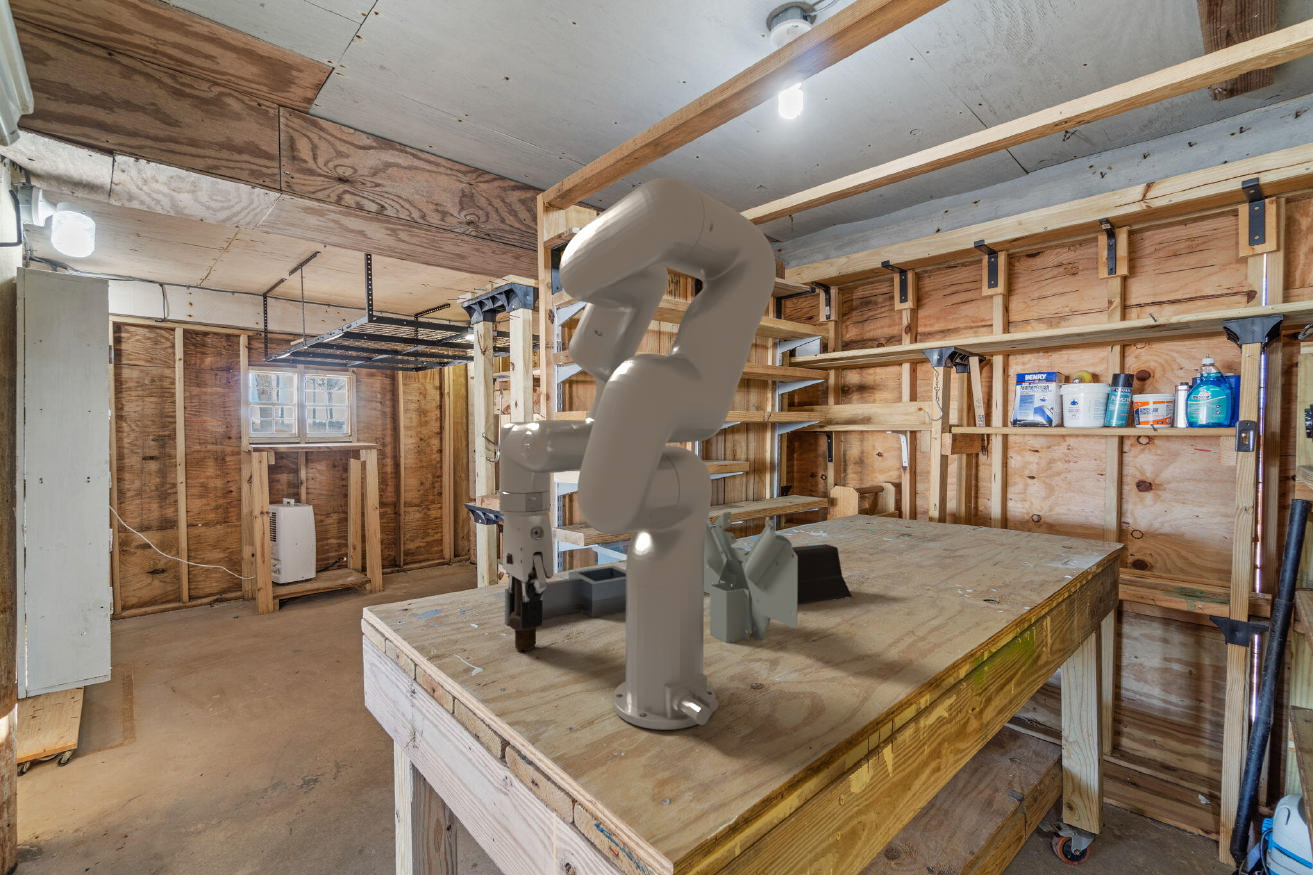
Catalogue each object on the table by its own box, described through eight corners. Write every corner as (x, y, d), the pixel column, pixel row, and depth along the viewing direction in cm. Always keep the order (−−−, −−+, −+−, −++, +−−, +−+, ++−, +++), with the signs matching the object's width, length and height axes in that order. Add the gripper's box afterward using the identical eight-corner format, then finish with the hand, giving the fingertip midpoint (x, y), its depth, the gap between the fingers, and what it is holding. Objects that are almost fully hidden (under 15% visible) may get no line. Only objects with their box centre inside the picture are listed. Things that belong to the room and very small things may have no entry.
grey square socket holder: (698, 595, 113) (698, 566, 113) (516, 633, 92) (516, 597, 92) (670, 584, 122) (670, 556, 121) (496, 616, 101) (496, 583, 100)
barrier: (752, 612, 104) (752, 558, 104) (728, 599, 112) (729, 549, 112) (853, 598, 113) (853, 549, 113) (824, 587, 121) (825, 541, 121)
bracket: (814, 658, 82) (815, 523, 82) (780, 669, 79) (780, 527, 78) (701, 607, 106) (701, 502, 105) (670, 614, 102) (670, 504, 101)
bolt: (499, 650, 85) (499, 552, 85) (522, 639, 89) (521, 546, 89) (529, 658, 82) (529, 556, 82) (550, 646, 87) (550, 550, 86)
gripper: (571, 507, 81) (571, 633, 81) (528, 495, 95) (528, 603, 95) (521, 511, 76) (521, 644, 77) (484, 498, 90) (484, 611, 91)
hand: (525, 620), depth 86 cm, fingers closed on bolt, 4 cm apart
